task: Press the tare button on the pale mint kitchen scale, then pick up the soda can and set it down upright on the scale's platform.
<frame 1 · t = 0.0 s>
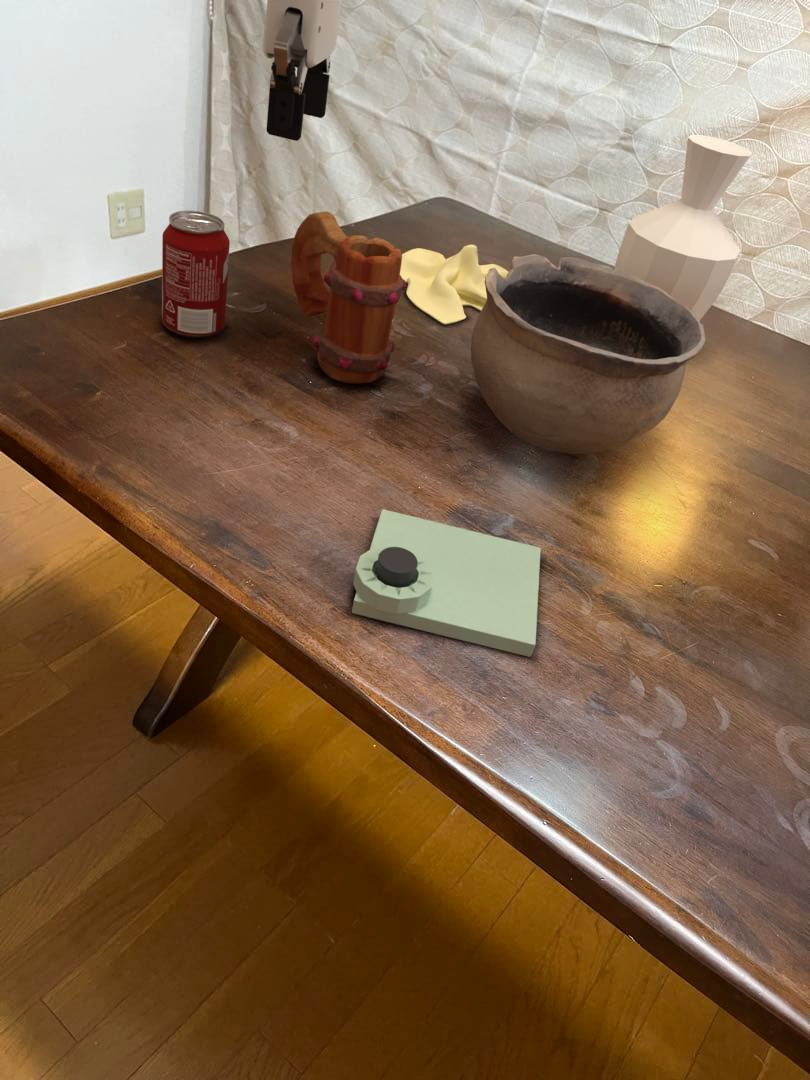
hand: (296, 125, 84), 22 cm above the table, tool pointing down, fingers open, 9 cm apart
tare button: (396, 567, 65), point 3 cm above the table, slide at 0.1 cm
cloth: (457, 292, 117), on the table
mug: (333, 364, 95), on the table
vase: (643, 340, 116), on the table
soda can: (193, 329, 96), on the table
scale: (449, 584, 70), on the table
ceramic bowl: (552, 431, 93), on the table
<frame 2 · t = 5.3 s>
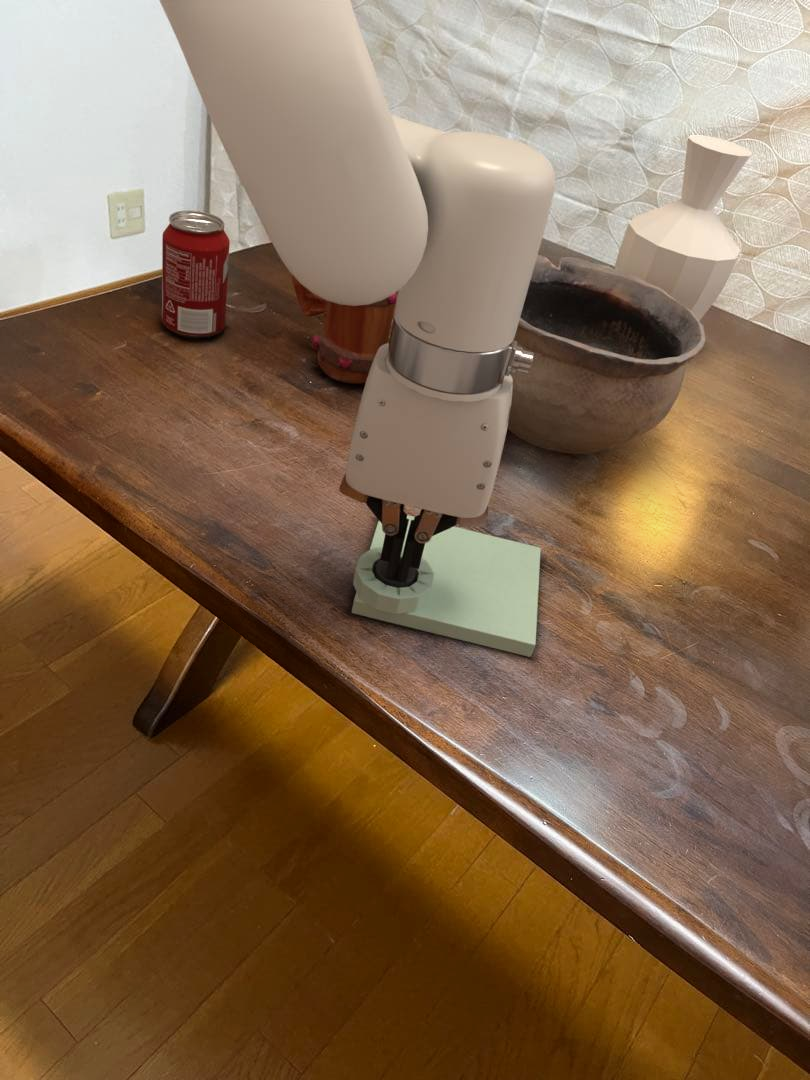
hand: (398, 568, 65), 3 cm above the table, tool pointing down, fingers closed
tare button: (394, 576, 66), point 2 cm above the table, slide at -0.8 cm, touching gripper
everything else where it was.
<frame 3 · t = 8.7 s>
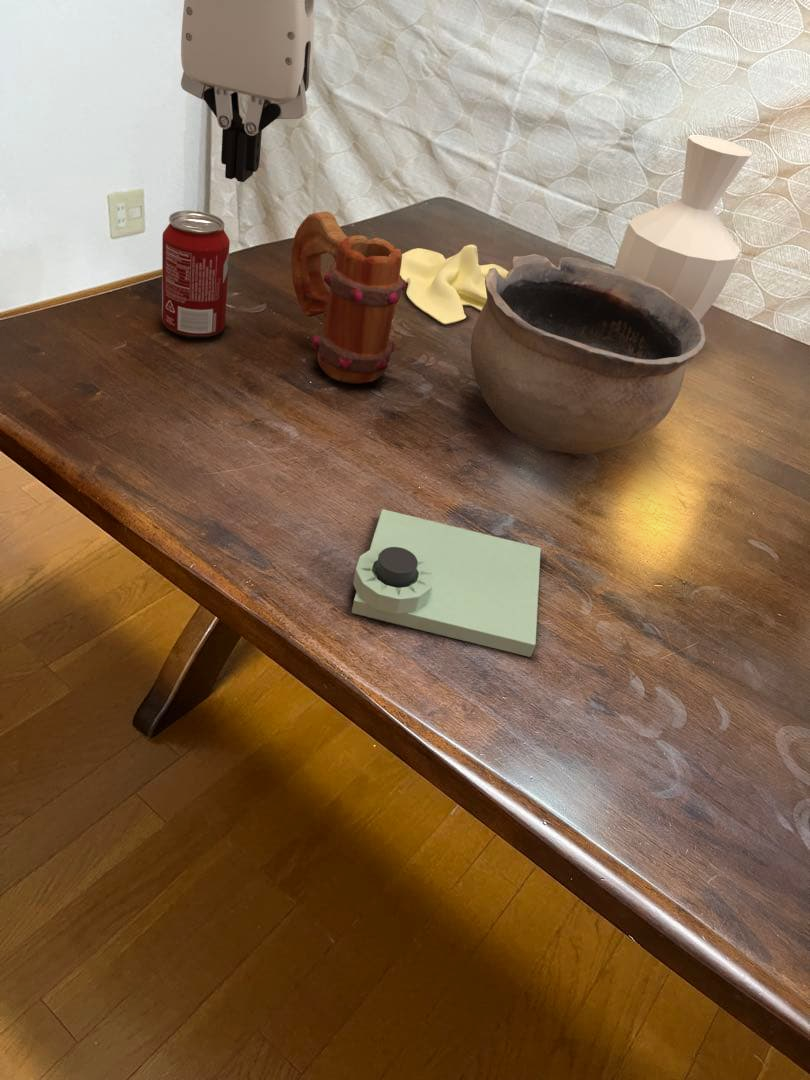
hand: (239, 175, 77), 20 cm above the table, tool pointing down, fingers closed
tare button: (396, 567, 65), point 3 cm above the table, slide at 0.1 cm
everything else where it was.
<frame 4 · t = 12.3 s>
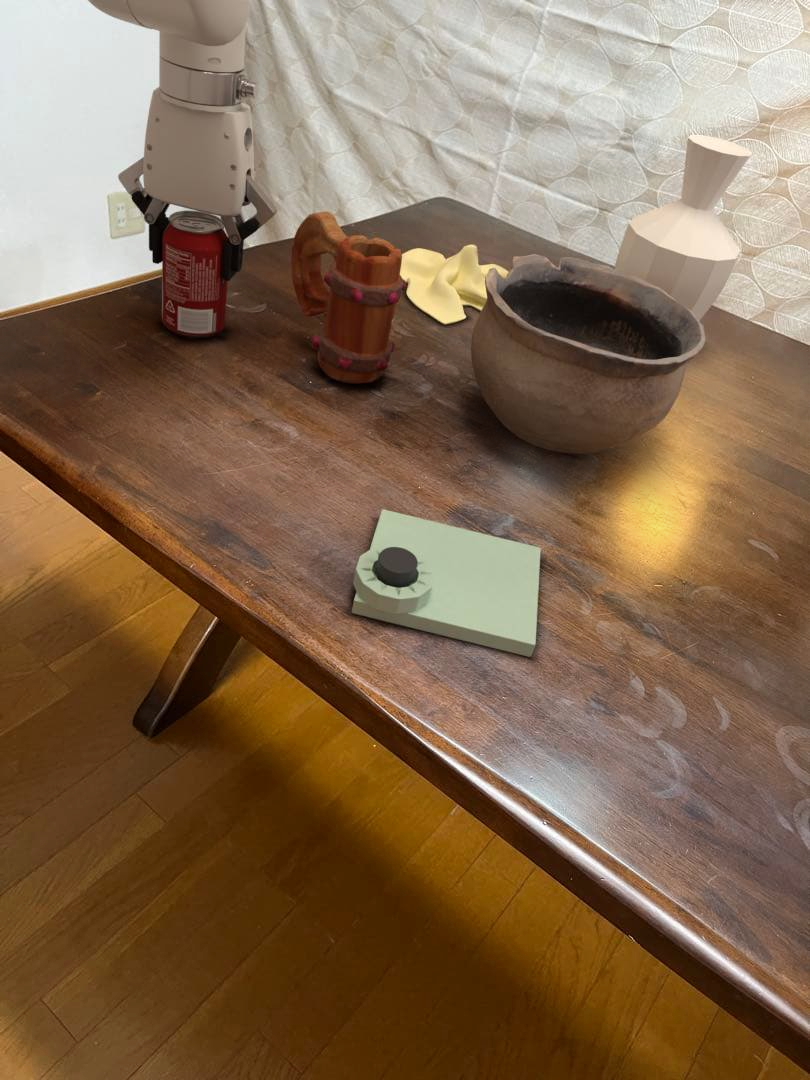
hand: (195, 266, 91), 7 cm above the table, tool pointing down, fingers closed on soda can, 6 cm apart
soda can: (193, 329, 96), on the table, touching gripper
everything else where it was.
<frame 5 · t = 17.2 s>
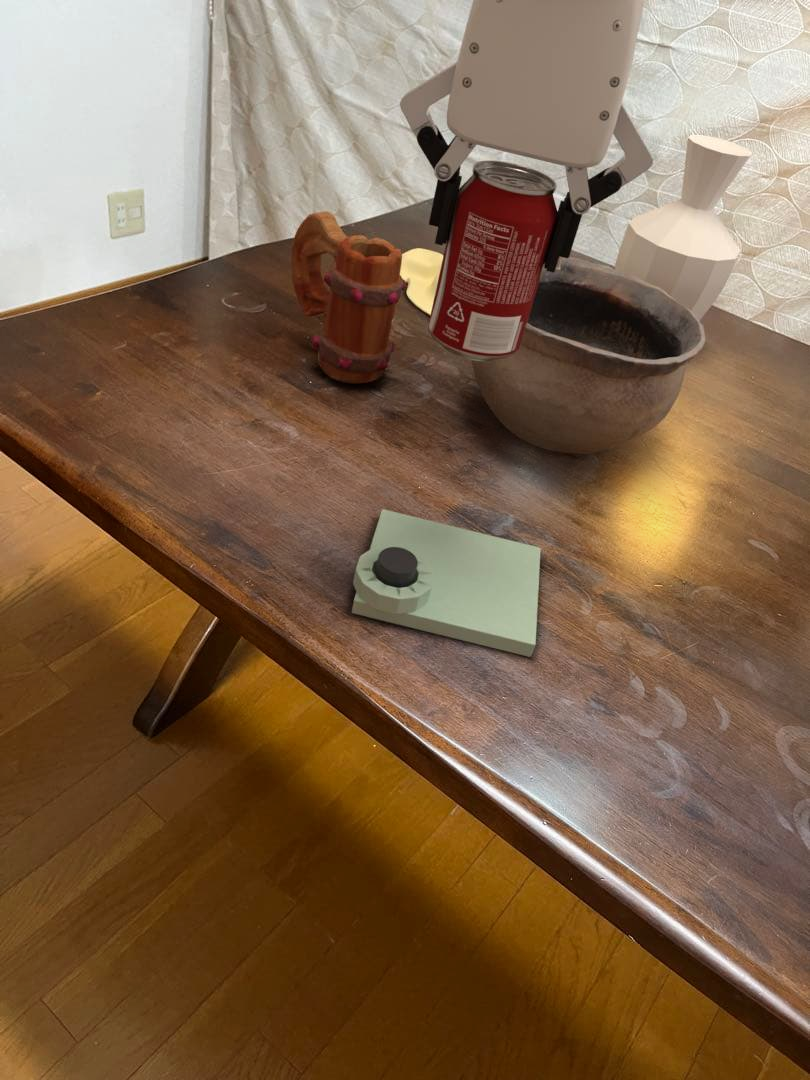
hand: (496, 249, 58), 26 cm above the table, tool pointing down, fingers closed on soda can, 6 cm apart
soda can: (471, 347, 63), point 18 cm above the table, touching gripper
everything else where it was.
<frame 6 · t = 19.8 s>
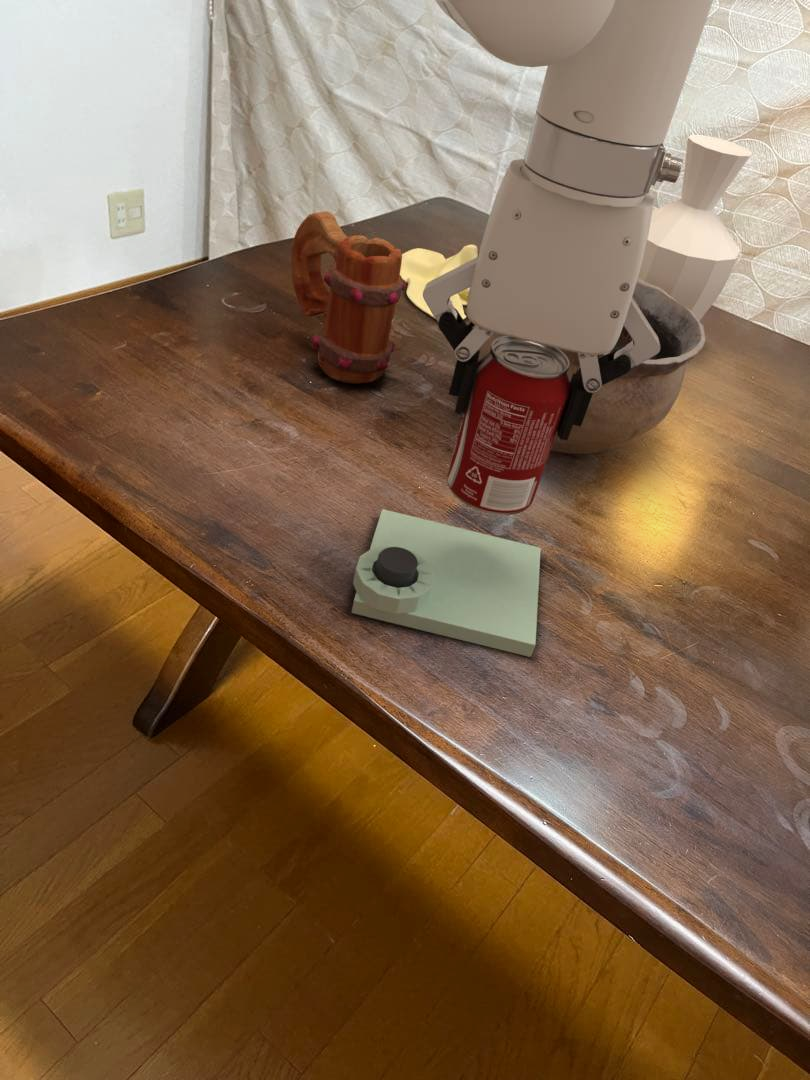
hand: (512, 415, 62), 16 cm above the table, tool pointing down, fingers closed on soda can, 6 cm apart
soda can: (487, 496, 66), point 8 cm above the table, touching gripper
everything else where it was.
when the fingers open (9 cm above the table, at t = 22.0 s): soda can stays where it is, resting on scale.
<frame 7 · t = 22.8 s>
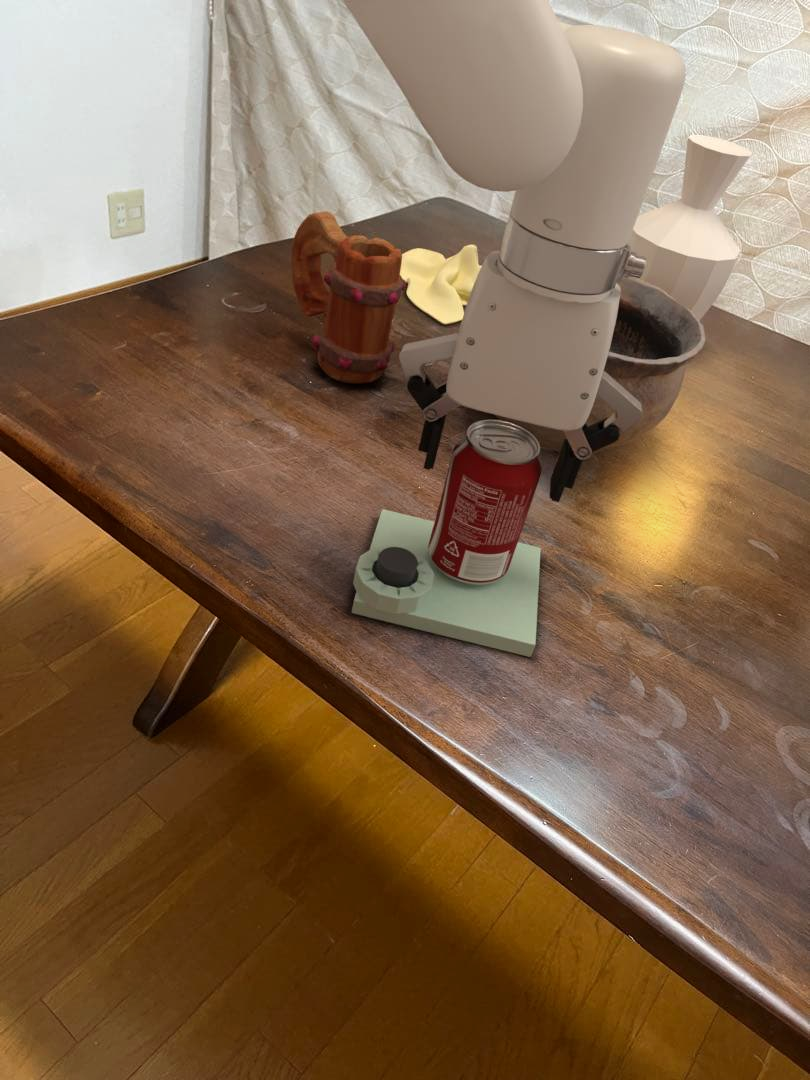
hand: (492, 475, 65), 10 cm above the table, tool pointing down, fingers open, 9 cm apart
soda can: (466, 564, 70), point 1 cm above the table, touching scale
everything else where it was.
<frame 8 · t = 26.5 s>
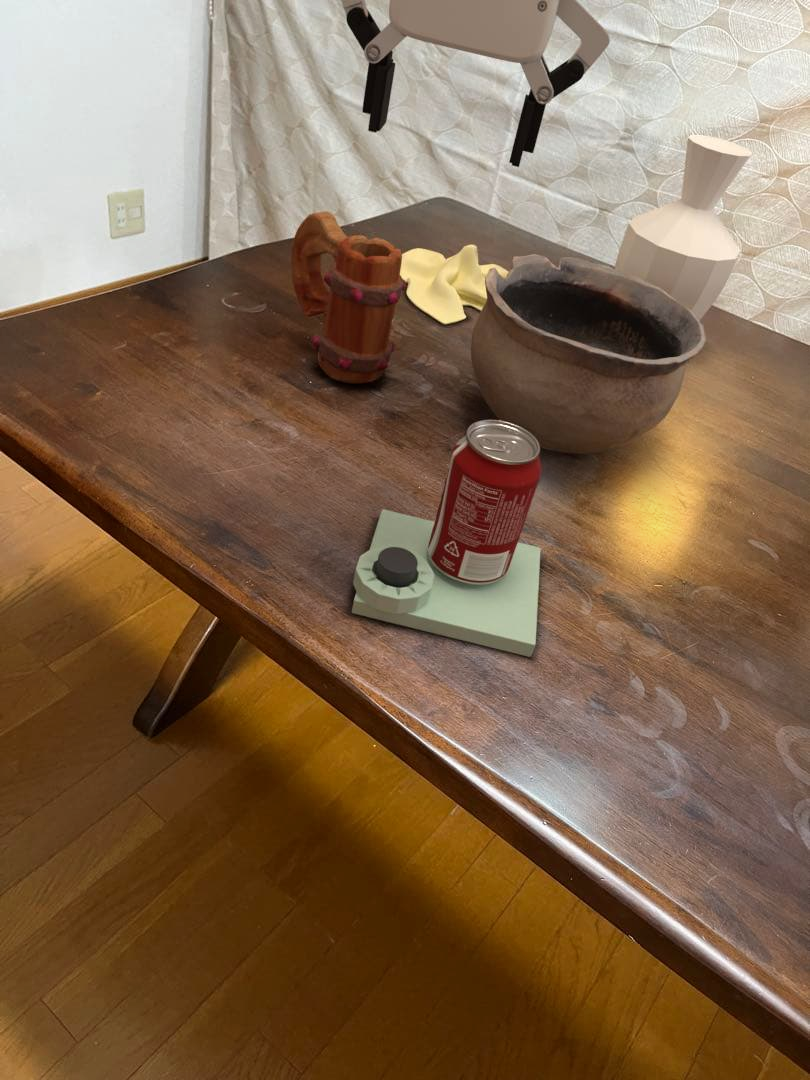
hand: (445, 144, 58), 30 cm above the table, tool pointing down, fingers open, 9 cm apart
nothing on the table moved.
at the end: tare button pushed in 0.9 cm at the most during the clip, back to where it started at the end; soda can inside the target area on the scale (1.4 cm from its centre), point 1.2 cm above the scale's base; soda can tilted 0° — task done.
